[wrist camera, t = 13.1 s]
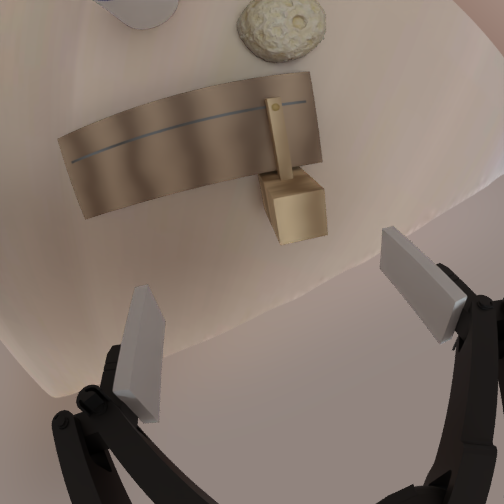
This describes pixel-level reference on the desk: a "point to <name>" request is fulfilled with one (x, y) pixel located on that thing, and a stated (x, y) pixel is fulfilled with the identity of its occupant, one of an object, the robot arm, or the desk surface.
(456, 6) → the desk surface
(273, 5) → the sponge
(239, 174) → the board
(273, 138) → the wooden lever on block
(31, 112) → the desk surface
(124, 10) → the cylindrical container
